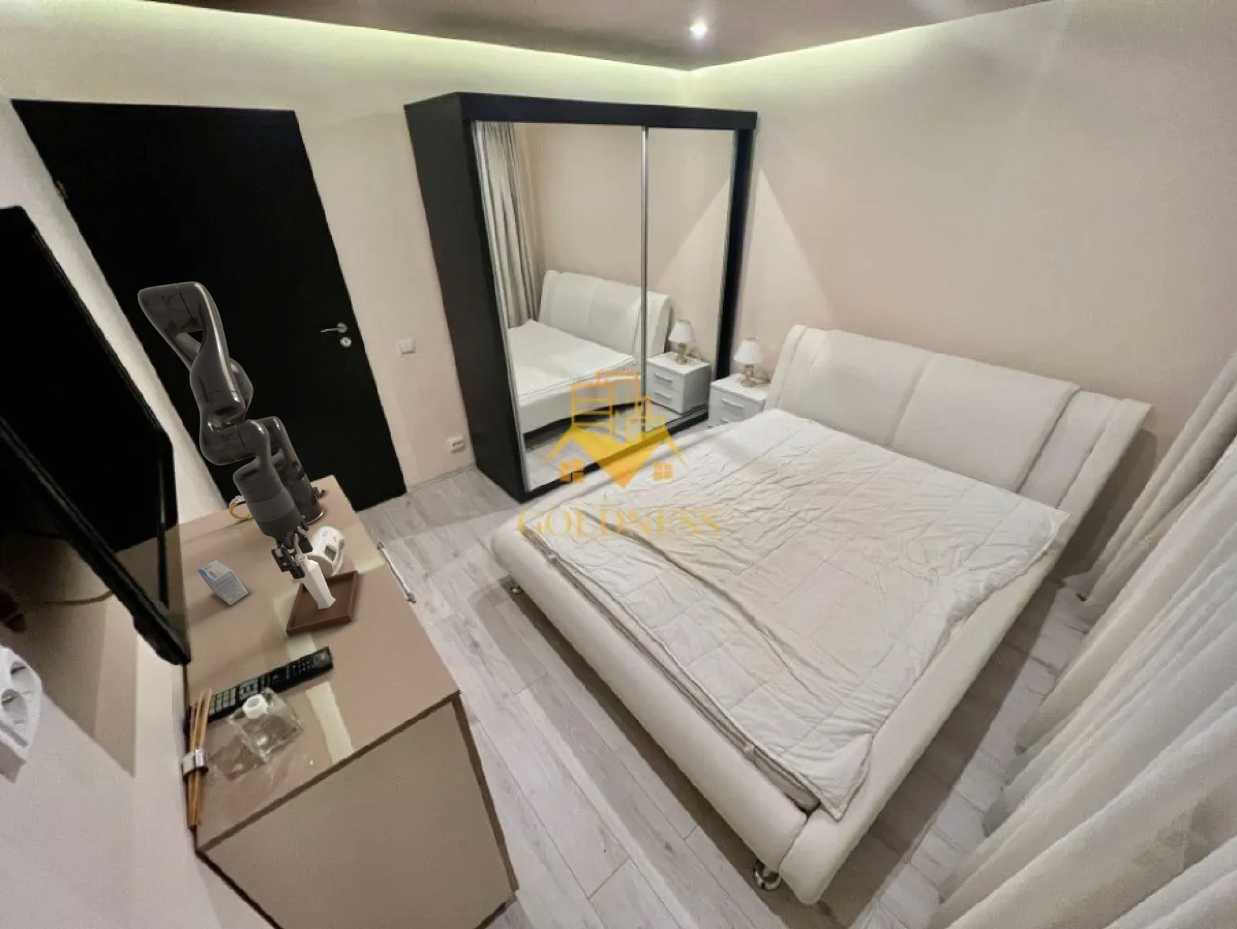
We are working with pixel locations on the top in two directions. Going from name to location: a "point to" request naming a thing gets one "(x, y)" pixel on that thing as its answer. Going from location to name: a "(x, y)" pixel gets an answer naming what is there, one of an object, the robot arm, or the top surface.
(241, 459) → the robot arm
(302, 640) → the top surface
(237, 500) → the ring
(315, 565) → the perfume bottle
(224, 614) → the top surface
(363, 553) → the top surface
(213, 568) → the medicine box
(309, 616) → the tray
